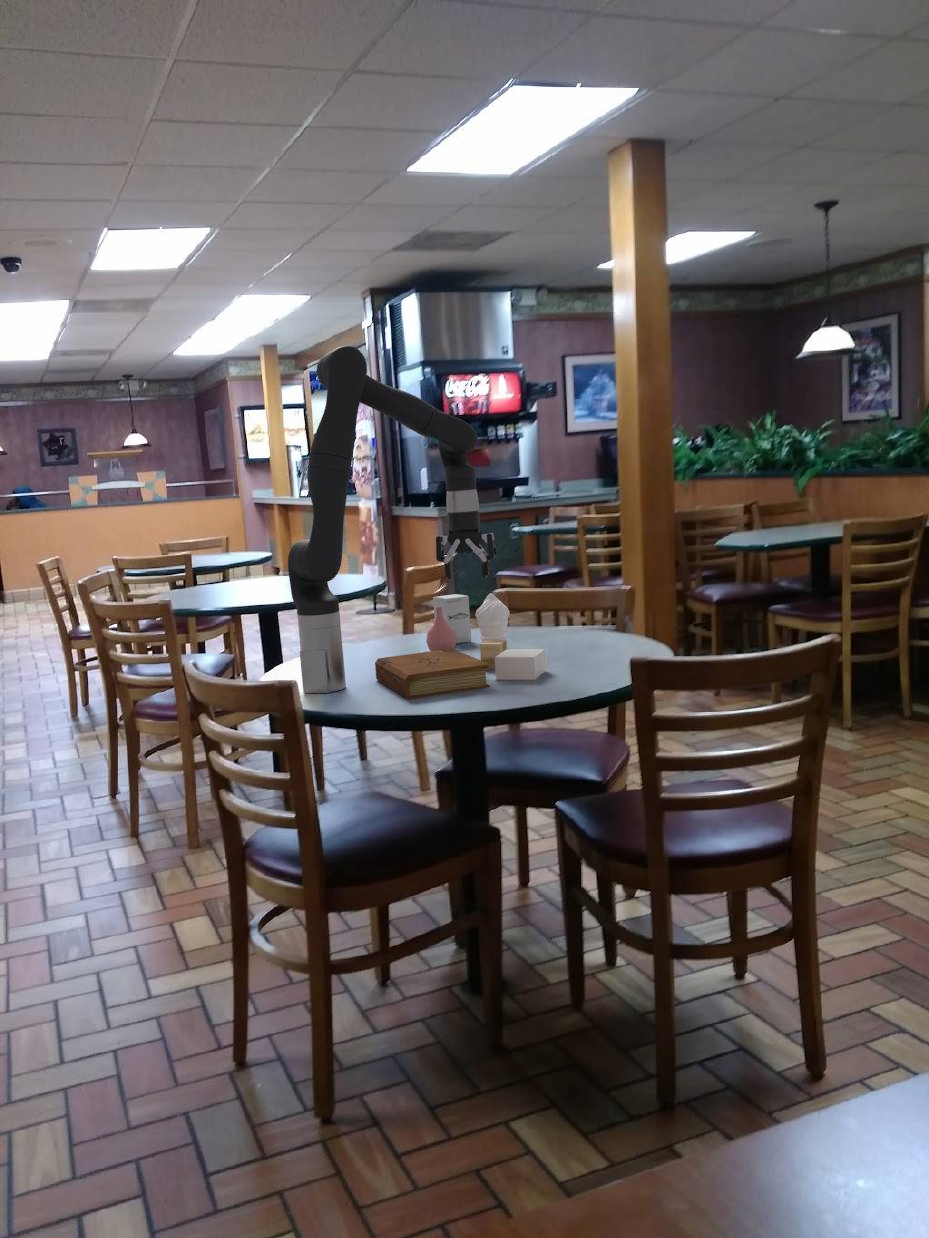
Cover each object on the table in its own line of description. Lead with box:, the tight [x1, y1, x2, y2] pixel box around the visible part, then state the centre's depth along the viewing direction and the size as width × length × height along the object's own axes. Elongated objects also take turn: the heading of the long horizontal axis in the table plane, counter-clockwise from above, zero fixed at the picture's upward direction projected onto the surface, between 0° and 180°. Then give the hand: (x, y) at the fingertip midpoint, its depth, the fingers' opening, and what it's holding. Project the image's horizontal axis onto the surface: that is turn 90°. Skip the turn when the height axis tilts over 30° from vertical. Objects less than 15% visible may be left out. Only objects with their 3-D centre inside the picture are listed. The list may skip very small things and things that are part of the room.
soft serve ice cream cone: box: [475, 593, 510, 643], centre depth 248 cm, size 8×8×16 cm
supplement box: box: [432, 593, 472, 644], centre depth 276 cm, size 7×7×13 cm
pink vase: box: [426, 607, 457, 652], centre depth 259 cm, size 8×8×12 cm
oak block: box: [479, 639, 508, 670], centre depth 238 cm, size 5×5×6 cm
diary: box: [374, 649, 491, 700], centre depth 224 cm, size 23×19×6 cm
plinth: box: [494, 648, 547, 681], centre depth 227 cm, size 9×9×5 cm
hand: (468, 578), depth 242 cm, fingers open, 8 cm apart
